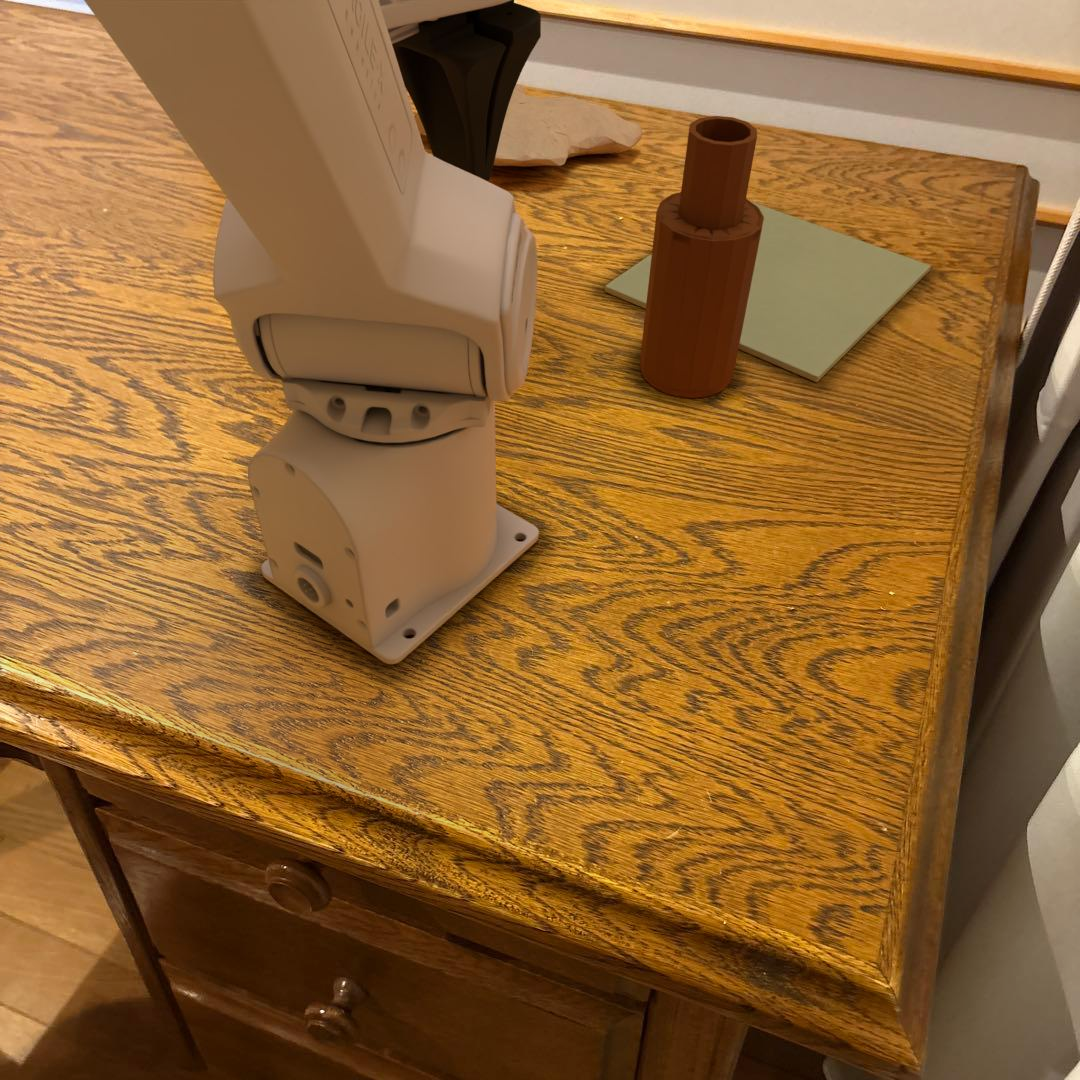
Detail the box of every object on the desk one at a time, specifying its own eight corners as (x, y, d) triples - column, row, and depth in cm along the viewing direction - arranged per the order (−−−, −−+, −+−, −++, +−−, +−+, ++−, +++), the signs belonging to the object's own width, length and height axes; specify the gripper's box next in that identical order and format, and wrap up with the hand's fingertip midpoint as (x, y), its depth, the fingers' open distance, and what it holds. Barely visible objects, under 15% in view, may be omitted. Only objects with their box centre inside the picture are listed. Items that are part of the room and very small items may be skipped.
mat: (816, 383, 53) (818, 376, 52) (604, 291, 59) (604, 285, 58) (929, 271, 61) (931, 265, 61) (733, 201, 67) (734, 195, 67)
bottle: (701, 410, 51) (743, 165, 41) (621, 373, 53) (645, 131, 44) (750, 366, 54) (800, 127, 44) (672, 332, 56) (705, 98, 46)
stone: (669, 113, 67) (457, 130, 62) (664, 168, 69) (458, 189, 65) (584, 70, 78) (398, 82, 73) (582, 119, 80) (401, 134, 75)
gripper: (493, -227, 41) (498, 99, 51) (216, -155, 33) (287, 212, 44) (632, -199, 38) (609, 141, 48) (365, -112, 31) (404, 269, 41)
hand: (464, 178), depth 46 cm, fingers closed
